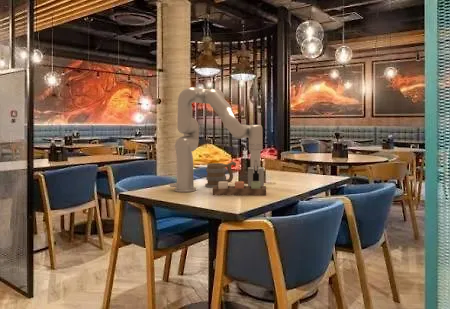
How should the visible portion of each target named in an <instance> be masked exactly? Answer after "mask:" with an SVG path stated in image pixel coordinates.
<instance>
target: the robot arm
mask: <svg viewBox="0 0 450 309" xmlns="http://www.w3.org/2000/svg"><path fill="white" fill-rule="evenodd" d="M192 103H197V104H205V105H206V104H207V105H209V106H210V107H211V108H212V110H214V112H215V113H216V114H217V115H218V117H219V118H220V121H221V122H222V123H223V125H224V127H225V128H226V129H227V130H228V132H229V133H230V134H231V135H232V136H233V138H236V139H239V140H240V139H241V140H242V139H246V138H248V151H250V167H251V169H252V168H253V181H259V173H258V167H259V168H260V167H261V151H263V150H264V149H263V148H264V147H263V145H264V144H263V126H262V125H261V124H251V125H249V124H241V122H240V121H239V120H238V119H237V117H236V116H235V115H234V113H233V107H232V106H231V104H230V103H229V102H228V101H227V100H226V99H225V94H224V92H223V91H222V90H220V89H216V88H211V89H208V88H199V87H195V86H189V87H186V88H184V89H183V90H181V92H180V93H179V95H178V98H177V118H176V119H177V120H176V121H177V124H176V125H177V131H178V132H179V133H181V134H183V135H182V136H179V137H178V138H177V139H176V141H175V143H174V149H175V154H176V155H175V156H176V182H175V183H169V187H170V188H174V192H178V193H190V192H195V191H196V190H197V187H195V186H194V157H193V152H194V151H195V150H197V148H198V146H199V136H200V135H199V133H200V132H199V131H200V129H199V128H200V126H199V123H198V120H197V119H195V118H194V117H193V106H192Z"/></svg>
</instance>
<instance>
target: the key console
mask: <svg viewBox="0 0 450 309" xmlns="http://www.w3.org/2000/svg"><path fill="white" fill-rule="evenodd" d="M211 190H212V196H267V186H266V185H264V186H260V189H251V186H248V185H244V189H235V185H228V188H218V186H214V187H213V188H211Z"/></svg>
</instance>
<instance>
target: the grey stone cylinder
mask: <svg viewBox="0 0 450 309" xmlns="http://www.w3.org/2000/svg"><path fill="white" fill-rule="evenodd" d="M264 168H265V167H262V166H260V168H259V167H258V173H259V181H260V186H265V174H264V172H265V169H264ZM251 181H253V168H252V169H251V166H249V167H247V186H251Z"/></svg>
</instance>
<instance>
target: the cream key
mask: <svg viewBox="0 0 450 309" xmlns="http://www.w3.org/2000/svg"><path fill="white" fill-rule="evenodd" d="M228 186H229V183H228V181H219V182H218V188H228Z"/></svg>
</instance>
